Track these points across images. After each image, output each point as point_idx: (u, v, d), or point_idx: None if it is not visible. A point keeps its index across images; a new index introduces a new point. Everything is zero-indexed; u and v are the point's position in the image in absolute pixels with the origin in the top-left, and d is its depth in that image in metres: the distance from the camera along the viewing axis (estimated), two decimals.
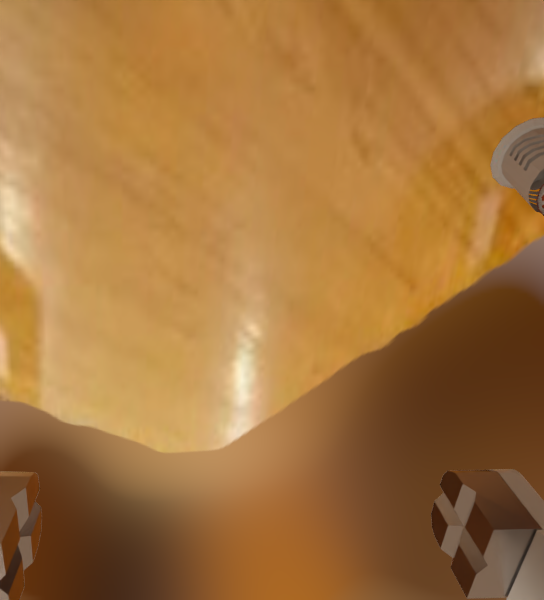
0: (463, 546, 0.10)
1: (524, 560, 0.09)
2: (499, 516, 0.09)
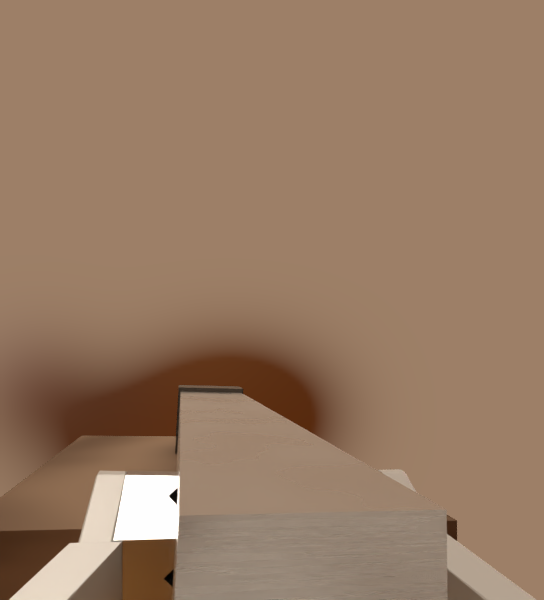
0: None
1: None
2: None
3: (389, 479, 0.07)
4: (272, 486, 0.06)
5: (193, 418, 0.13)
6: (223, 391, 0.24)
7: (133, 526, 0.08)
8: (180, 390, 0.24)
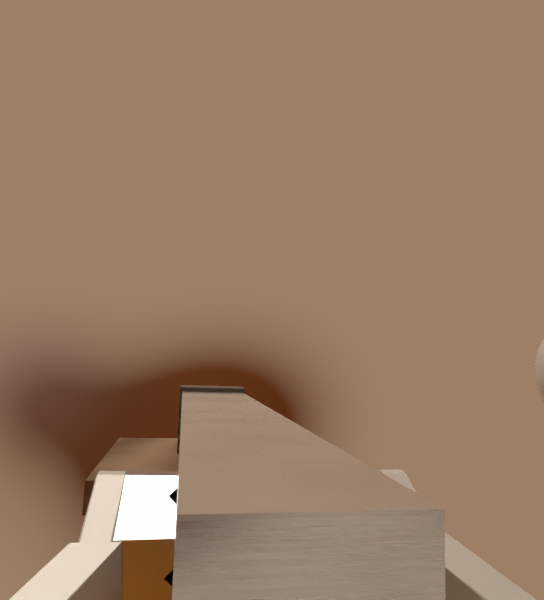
0: None
1: None
2: None
3: (388, 479, 0.07)
4: (270, 486, 0.06)
5: (194, 418, 0.13)
6: (225, 391, 0.24)
7: (133, 526, 0.08)
8: (182, 390, 0.24)
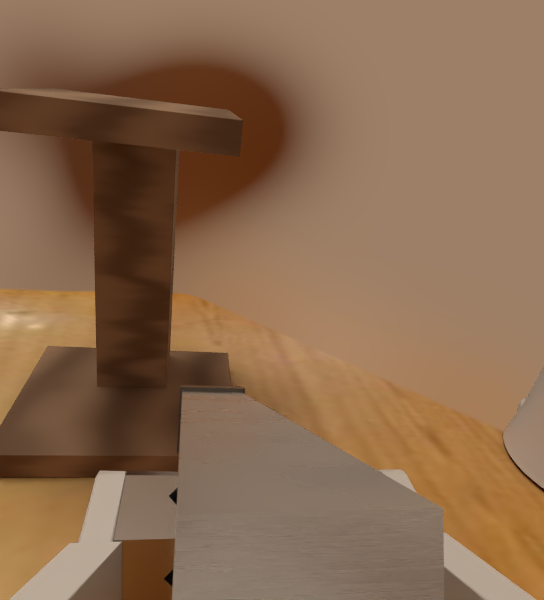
0: None
1: None
2: None
3: (387, 478, 0.07)
4: (270, 485, 0.06)
5: (194, 418, 0.13)
6: (225, 391, 0.24)
7: (133, 526, 0.08)
8: (182, 390, 0.24)
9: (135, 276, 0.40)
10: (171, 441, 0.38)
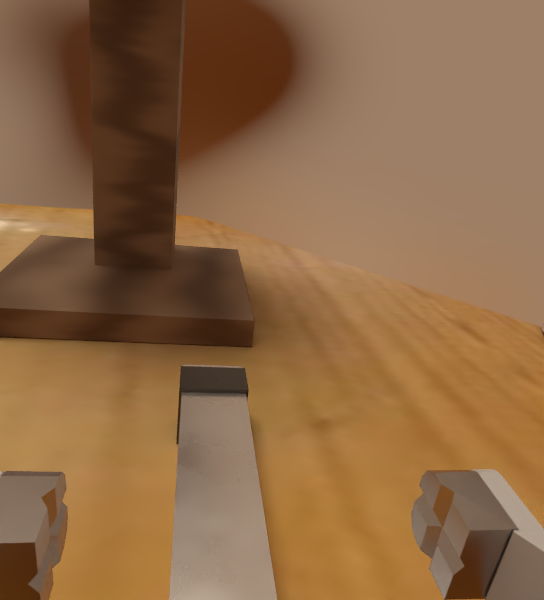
0: (441, 547, 0.09)
1: (500, 559, 0.09)
2: (476, 516, 0.09)
3: None
4: None
5: None
6: (227, 392, 0.23)
7: None
8: (181, 390, 0.23)
9: (137, 129, 0.36)
10: (178, 306, 0.34)
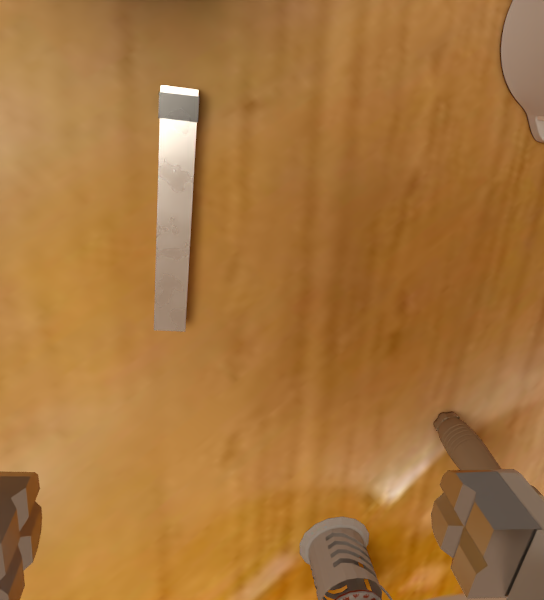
0: (463, 546, 0.10)
1: (524, 559, 0.09)
2: (499, 516, 0.09)
3: (185, 318, 0.47)
4: (166, 320, 0.47)
5: (160, 247, 0.44)
6: (185, 121, 0.40)
7: None
8: (159, 117, 0.40)
9: None
10: None
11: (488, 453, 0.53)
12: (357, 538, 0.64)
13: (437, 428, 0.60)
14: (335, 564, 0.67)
